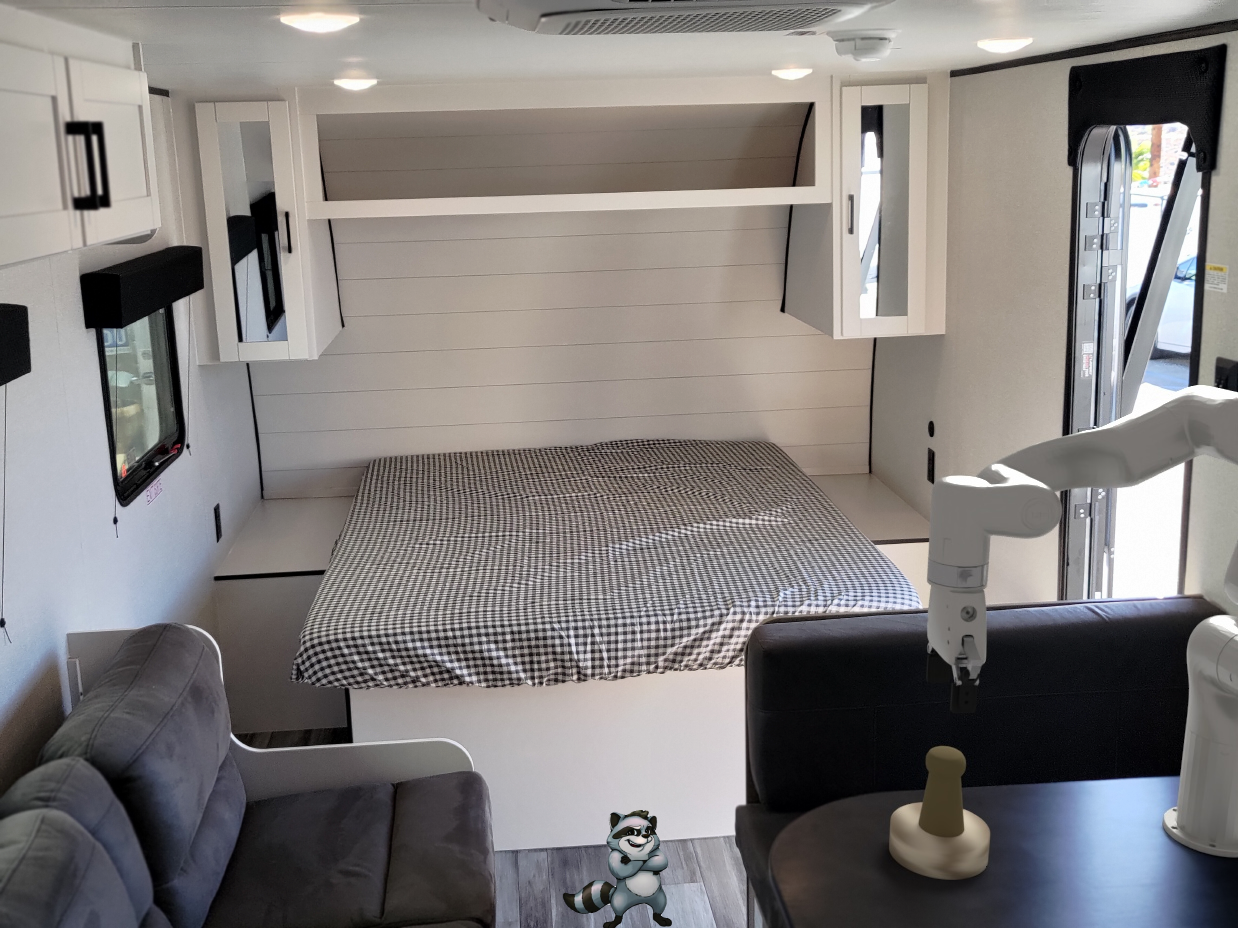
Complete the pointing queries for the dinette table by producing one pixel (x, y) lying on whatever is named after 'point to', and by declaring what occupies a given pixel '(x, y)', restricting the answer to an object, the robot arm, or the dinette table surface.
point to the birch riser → (938, 846)
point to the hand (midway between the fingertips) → (950, 696)
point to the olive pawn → (943, 793)
